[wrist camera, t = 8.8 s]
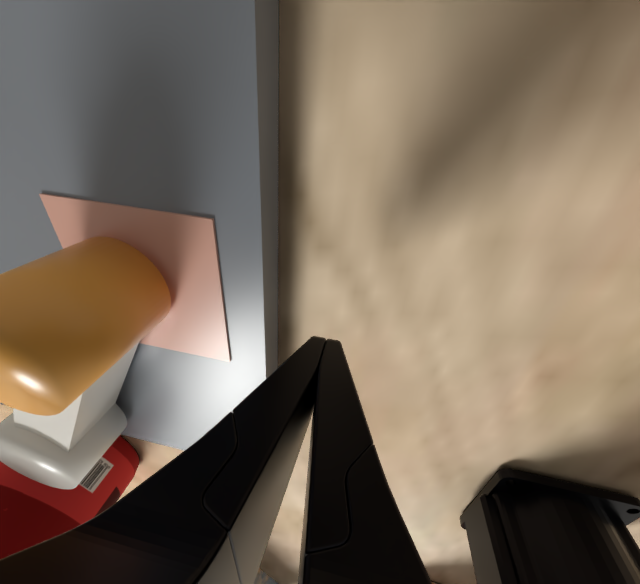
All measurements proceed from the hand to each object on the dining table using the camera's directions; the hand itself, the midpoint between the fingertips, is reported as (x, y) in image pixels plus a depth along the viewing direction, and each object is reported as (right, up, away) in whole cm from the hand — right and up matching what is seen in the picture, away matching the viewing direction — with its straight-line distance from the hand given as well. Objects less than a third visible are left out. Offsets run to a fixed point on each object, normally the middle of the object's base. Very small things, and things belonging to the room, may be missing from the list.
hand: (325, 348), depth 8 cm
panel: (-11, +2, +5) cm, 12 cm away
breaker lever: (-10, -1, +4) cm, 11 cm away
